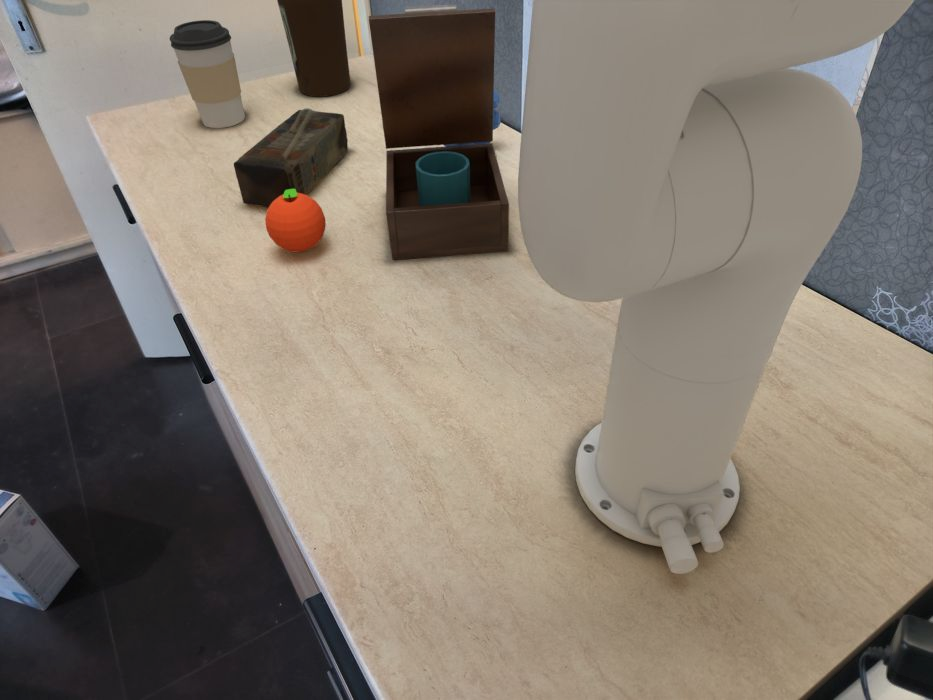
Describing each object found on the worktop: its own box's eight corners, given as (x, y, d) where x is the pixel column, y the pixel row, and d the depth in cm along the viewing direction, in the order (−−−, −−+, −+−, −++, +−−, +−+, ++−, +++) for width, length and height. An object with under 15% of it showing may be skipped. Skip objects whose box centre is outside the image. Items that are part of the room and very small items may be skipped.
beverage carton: (352, 150, 99) (345, 107, 94) (295, 214, 85) (284, 168, 81) (304, 146, 101) (296, 103, 96) (241, 208, 87) (227, 162, 83)
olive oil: (355, 75, 123) (333, -82, 106) (353, 96, 115) (328, -69, 99) (299, 78, 123) (267, -78, 106) (292, 100, 115) (257, -66, 98)
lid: (495, 11, 71) (489, -13, 74) (368, 19, 70) (368, -6, 74) (492, 141, 84) (487, 116, 88) (386, 149, 84) (385, 123, 87)
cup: (473, 226, 80) (471, 173, 75) (421, 230, 80) (416, 177, 75) (468, 200, 85) (466, 149, 80) (419, 204, 85) (414, 153, 80)
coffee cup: (201, 111, 113) (172, 17, 102) (254, 107, 113) (231, 13, 103) (191, 132, 106) (158, 34, 96) (247, 128, 106) (221, 30, 96)
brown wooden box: (508, 251, 77) (509, 203, 73) (392, 260, 77) (386, 212, 72) (492, 187, 89) (492, 142, 85) (391, 195, 88) (386, 150, 84)
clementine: (273, 232, 82) (259, 180, 78) (328, 224, 83) (318, 173, 78) (272, 267, 76) (257, 213, 72) (331, 258, 77) (320, 205, 73)
